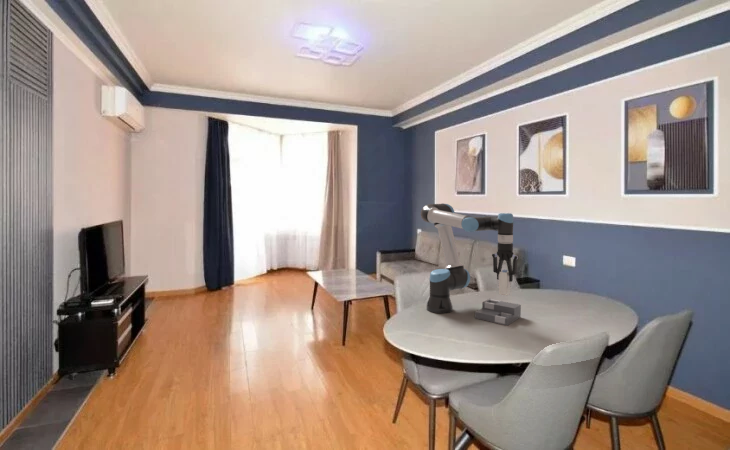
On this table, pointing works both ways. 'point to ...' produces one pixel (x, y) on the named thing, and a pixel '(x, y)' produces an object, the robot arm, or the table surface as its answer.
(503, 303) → the grey socket holder
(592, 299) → the table surface
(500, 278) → the cream long block
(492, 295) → the table surface
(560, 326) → the table surface
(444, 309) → the robot arm
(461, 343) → the table surface
